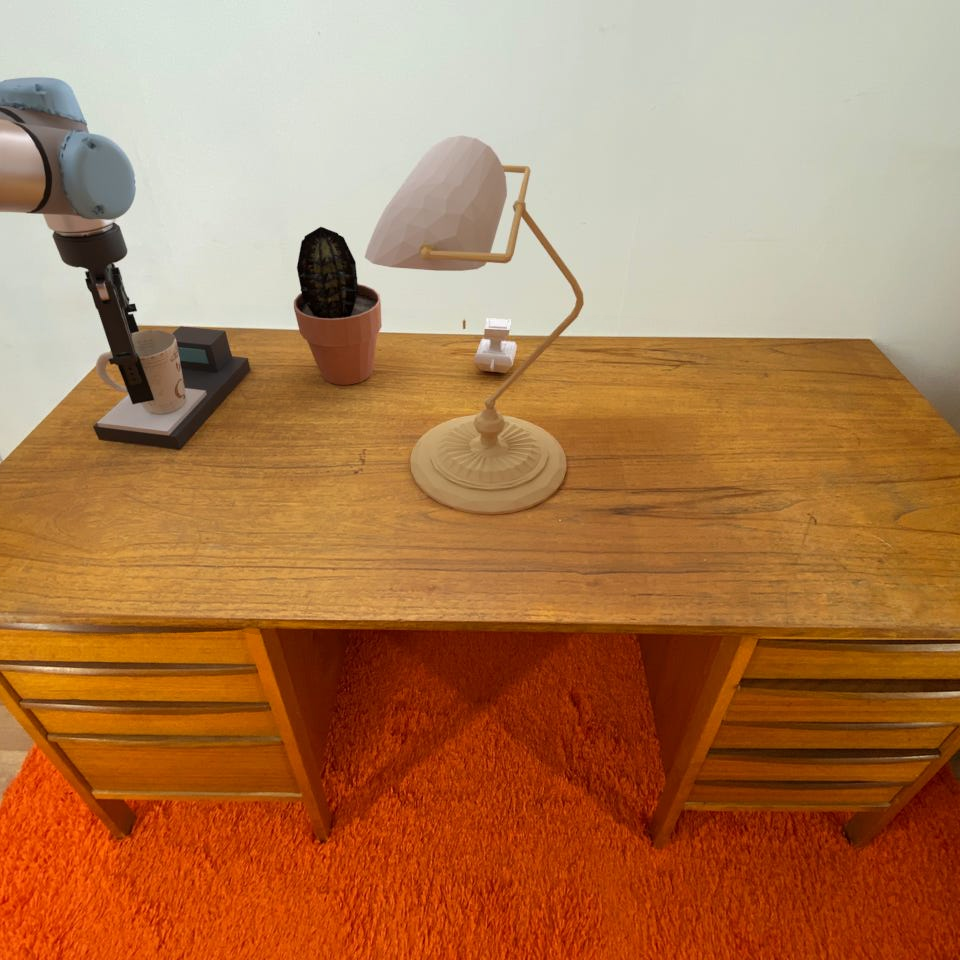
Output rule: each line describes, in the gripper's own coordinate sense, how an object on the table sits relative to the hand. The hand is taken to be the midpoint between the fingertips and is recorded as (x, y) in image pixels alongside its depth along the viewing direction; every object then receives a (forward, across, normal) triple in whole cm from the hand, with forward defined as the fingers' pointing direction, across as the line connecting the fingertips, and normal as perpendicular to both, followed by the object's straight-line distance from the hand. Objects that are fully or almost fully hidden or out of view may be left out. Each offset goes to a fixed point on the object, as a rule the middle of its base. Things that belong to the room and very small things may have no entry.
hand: (140, 377), depth 92 cm
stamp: (+8, -6, -55) cm, 56 cm away
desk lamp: (+8, -29, -42) cm, 51 cm away
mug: (+5, +1, 0) cm, 5 cm away
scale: (+8, +5, -4) cm, 10 cm away
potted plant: (+8, +3, -31) cm, 32 cm away
